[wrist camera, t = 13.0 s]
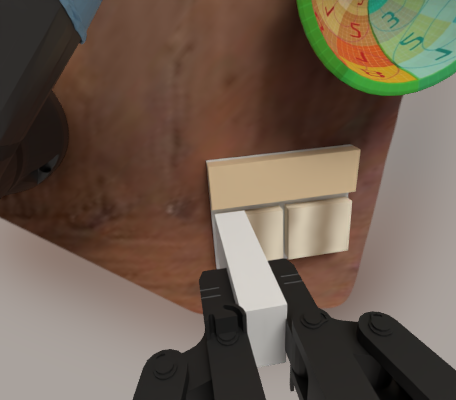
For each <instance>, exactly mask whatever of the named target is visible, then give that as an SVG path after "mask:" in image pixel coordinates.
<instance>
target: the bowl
mask: <svg viewBox="0 0 456 400" xmlns="http://www.w3.org/2000/svg"><path fill="white" fill-rule="evenodd" d="M296 4H297V9H298V14H299V18H300V21H301V24H302V27H303V30H304V32H305V35H306V38H307V40H308V41H309V43H310V45H311V47H312V49H313V51H314V53H315V54H316V56H317V57H318V58H319V60H320V61H321V62H322V63H323V65H324V66H325V67H326V68H327V69H328V70H329V71H330V72H331V73H332V74H333V75H334V76H335V77H337V78H338V79H339V80H340V81H342V82H344V83H345V84H347V85H349V86H350V87H352V88H354V89H357V90H360V91H362V92H365V93H368V94H374V95H381V96H397V95H405V94H409V93H414V92H418V91H420V90H423V89H426V88H428V87H431V86H434V85H435V84H437V83H439V82H441V81H443V80H445V79H446V78H448V77H450V76H451V75H453V74H454V73H455V72H456V0H296Z"/></svg>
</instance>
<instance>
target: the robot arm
mask: <svg viewBox="0 0 456 400" xmlns="http://www.w3.org/2000/svg"><path fill="white" fill-rule="evenodd" d="M101 2H102V0H0V199H1V198H2V197H3V196H4V195H9V194H13V193H18V192H22V191H25V190H28V189H30V188H32V187H35V186H36V185H38V184H40V183H41V182H43V181H44V180H45V179H47V178H48V177H49V176H50V175H51V174H52V173H53V172H54V170H55V169H56V168H57V167H58V166H59V164H60V163H61V161H62V160H63V158H64V155H65V153H66V150H67V145H68V124H67V120H66V116H65V113H64V111H63V108H62V106H61V104H60V102H59V100H58V99H57V97H56V96H55V94H54V93H53V91H52V89H53V87H54V85H55V84H56V82H57V80H58V79H59V77H60V75H61V73H62V72H63V70H64V68H65V66H66V65H67V63H68V61H69V59H70V58H71V56H72V54H73V53H74V51H75V49H76V47H77V46H78V44H79V43H80V44H84V42H85V41H86V37H87V32H86V31H87V29H88V27H89V25H90V23H91V21H92V19H93V17H94V15H95V14H96V12H97V10H98V8H99V6H100V4H101ZM215 225H216V236H217V247H218V258H219V263H220V268H221V269H216V270H209V271H203V272H202V275H201V277H200V279H199V285H200V292H201V300H202V308H203V316H204V323H205V333H204V336H203V338H202V340H201V341H200V342H199V343H198V344H197V345H196V346H195V347H193V348H191V349H190V350H188V351H186V352H184V353H180V352H179V351H177V350H172V349H169V350H162V351H160V352H158V353H156V354H154V355H153V356H152V357H150V359H148V360H147V362H146V364H145V366H144V368H143V370H142V373H141V376H140V379H139V382H138V385H137V388H136V391H135V394H134V397H133V400H266V398H265V394H264V391H263V387H262V384H261V380H260V376H259V373H258V369H257V368H259V367H264V366H269V365H275V364H280V363H285V362H286V353H287V356H288V358H289V361H290V364H291V365H290V390H291V391H294V386H295V389H296V392H297V394H298V397H299V400H456V370H455V369H453V368H452V367H451V366H450V365H448V363H446V362H445V361H444V360H443V359H442V358H440V357H439V356H438V355H437V354H436V353H435V352H433V351H432V350H431V349H430V348H429V347H427V346H426V345H425V344H424V343H423V342H421V341H420V340H419V339H418V338H417V337H415V336H414V335H413V334H412V333H411V332H409V331H408V330H407V329H406V328H405V327H404V326H402V325H401V324H400V323H399V322H398V321H397V320H395V319H394V318H392V317H390V316H389V315H387V314H384V313H381V312H367V313H364V314H363V315H362V316H360V318H359V321H358V322H352V321H342V320H336V319H333V318H331V317H330V316H329V315H328V313H327V312H325V311H324V310H322V309H320V308H318V307H317V305H316V303H315V302H314V300H313V298H312V296H311V295H310V293H309V291H308V289H307V288H306V286H305V284H304V282H302V279H301V277H300V275H298V272H297V270H296V268H295V266H294V265H293V264H292V263H291V262H289V261H288V260H287V259H285V258H282V259H275V260H269V261H267V259H266V257H265V255H264V252H263V250H262V248H261V246H260V244H259V241H258V239H257V237H256V235H255V233H254V230H253V228H252V226H251V224H250V222H249V220H248V217H247V215H246V213H245V211H244V210H243V211H236V212H228V213H221V214H215Z"/></svg>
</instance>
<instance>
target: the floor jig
mask: <svg viewBox="0 0 456 400" xmlns="http://www.w3.org/2000/svg"><path fill="white" fill-rule="evenodd" d="M359 158H360V149H358V148H357V147H355V146H353V145H351V144H348V145H339V146H330V147H321V148H312V149H304V150H295V151H286V152H277V153H268V154H260V155H251V156H242V157H233V158H224V159H216V160H207V161H206V167H207V177H208V187H209V198H210V208H211V218H212V229H213V239H214V249H215V260H216V268H217V269H221V268H220V264H219V258H218V247H217V236H216V225H215V214H218V213H226V212H233V211H240V210H248V209H255V208H263V207H270V206H278V205H279V206H280V207H281V209H282V210H283V258H285V259H287V256H286V254H285V211H284V205H285V204H293V203H300V202H308V201H315V200H323V199H330V198H338V197H345V196H346V197H347V198H348V192H355V191H356V183H357V175H358V167H359Z"/></svg>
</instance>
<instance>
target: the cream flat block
mask: <svg viewBox="0 0 456 400" xmlns="http://www.w3.org/2000/svg"><path fill="white" fill-rule="evenodd" d="M240 211H243V210H240ZM244 211H245V213H246V215H247V217H248V220H249V222H250V224H251V226H252V228H253V230H254V233H255V235H256V237H257V239H258V241H259V244H260V246H261V248H262V250H263V252H264V255H265V257H266V259H267V261H269V260H275V259H282V258H283V210H282V209H281V207H280V206H279V205H278V206H270V207H263V208H255V209H248V210H244ZM233 212H236V211H233ZM226 213H228V212H226ZM218 214H221V213H218ZM219 264H220V263H219Z"/></svg>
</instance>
